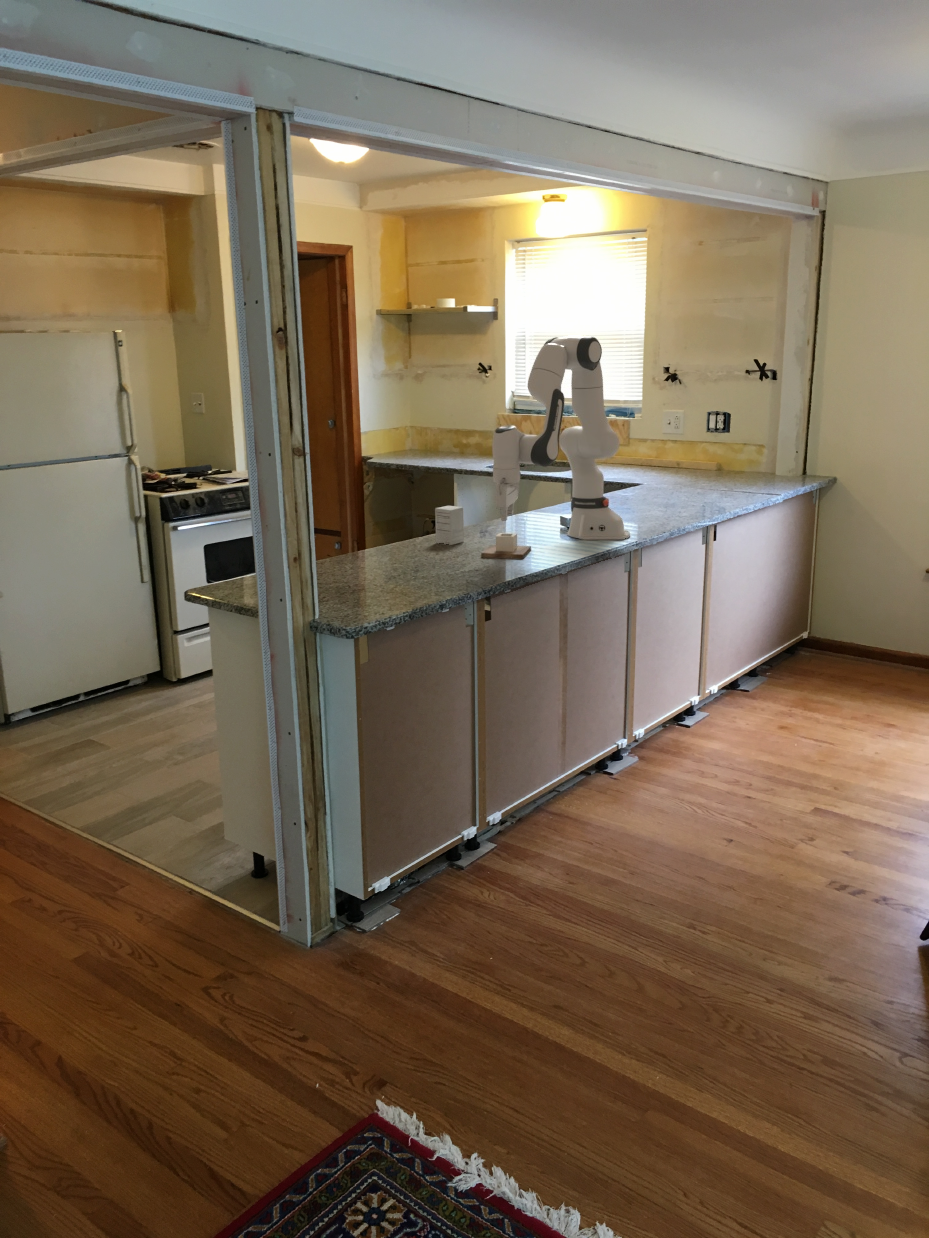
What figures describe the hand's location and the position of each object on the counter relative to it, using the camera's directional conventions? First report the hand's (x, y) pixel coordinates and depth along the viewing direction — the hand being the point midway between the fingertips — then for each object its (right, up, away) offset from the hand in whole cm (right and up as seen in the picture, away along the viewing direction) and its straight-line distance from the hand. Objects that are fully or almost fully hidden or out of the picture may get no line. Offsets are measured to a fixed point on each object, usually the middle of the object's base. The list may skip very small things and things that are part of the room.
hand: (507, 518), depth 330 cm
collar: (0, -10, +3) cm, 11 cm away
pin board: (0, -12, +3) cm, 12 cm away
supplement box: (-19, -7, +24) cm, 31 cm away
